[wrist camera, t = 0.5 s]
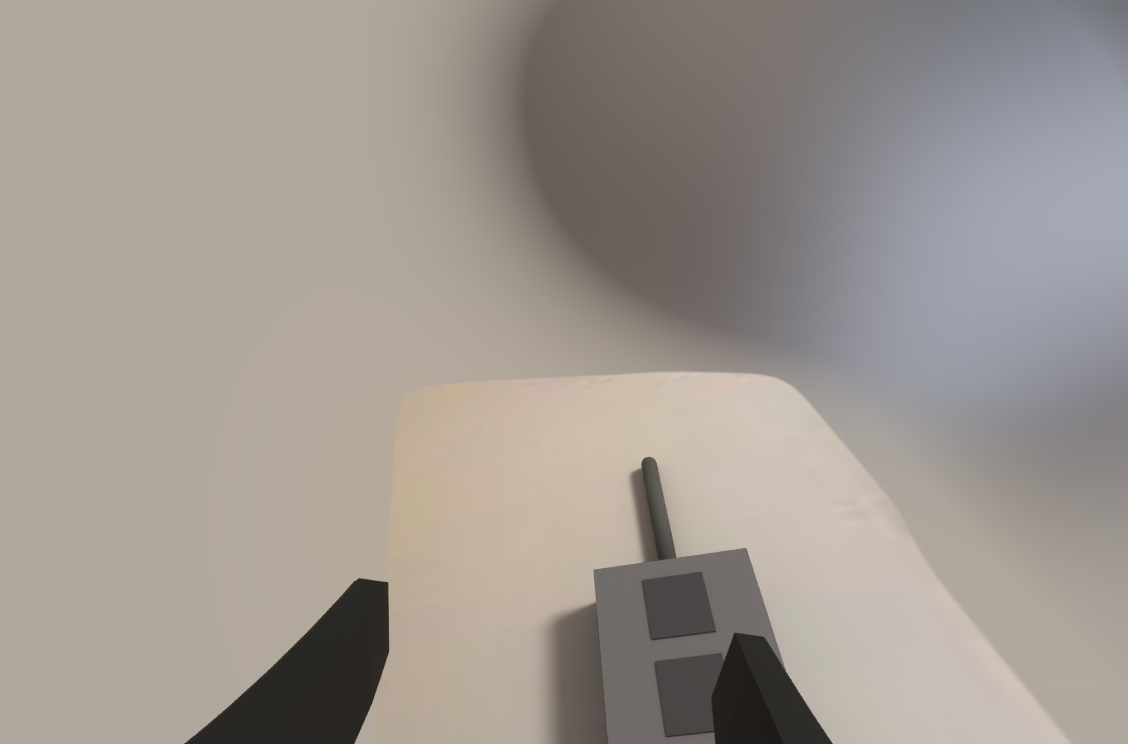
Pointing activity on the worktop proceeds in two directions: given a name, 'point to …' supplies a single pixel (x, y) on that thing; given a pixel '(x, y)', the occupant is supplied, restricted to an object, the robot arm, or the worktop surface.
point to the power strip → (671, 633)
